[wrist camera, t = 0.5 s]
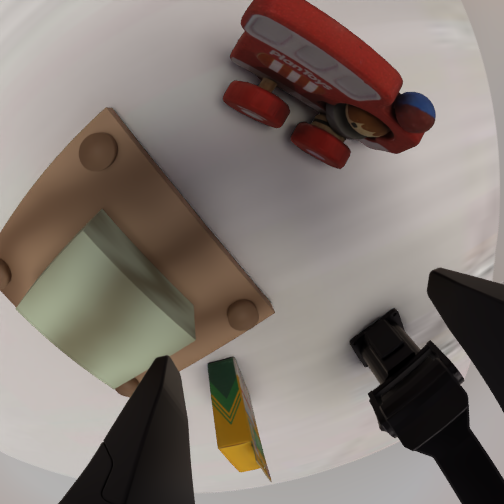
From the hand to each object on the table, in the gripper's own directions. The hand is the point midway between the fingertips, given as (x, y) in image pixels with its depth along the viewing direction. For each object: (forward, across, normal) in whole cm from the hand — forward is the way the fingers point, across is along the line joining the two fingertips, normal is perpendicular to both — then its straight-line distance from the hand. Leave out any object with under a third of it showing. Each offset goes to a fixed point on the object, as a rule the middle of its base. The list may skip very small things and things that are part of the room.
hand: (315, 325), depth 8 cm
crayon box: (+14, +6, +18) cm, 24 cm away
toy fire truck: (+14, -6, -7) cm, 17 cm away
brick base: (+14, +12, +3) cm, 18 cm away
